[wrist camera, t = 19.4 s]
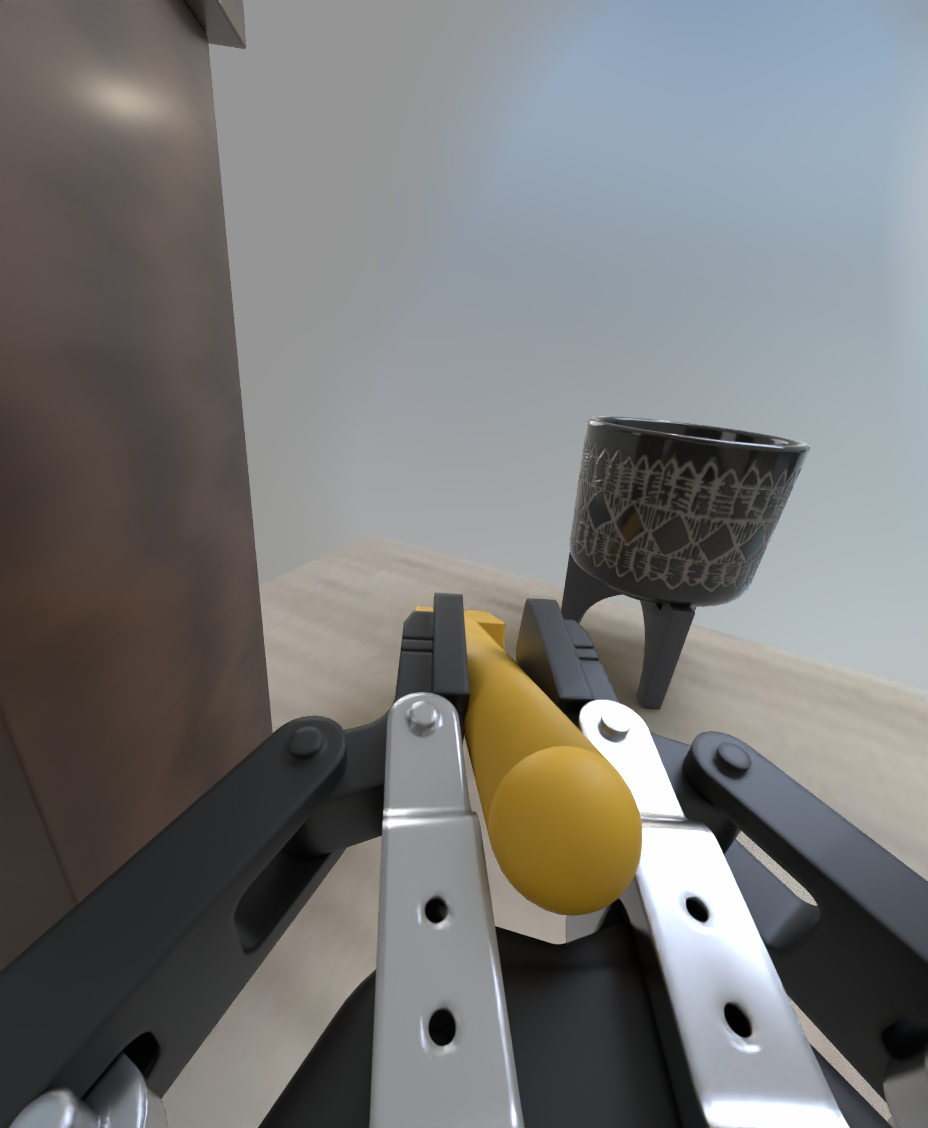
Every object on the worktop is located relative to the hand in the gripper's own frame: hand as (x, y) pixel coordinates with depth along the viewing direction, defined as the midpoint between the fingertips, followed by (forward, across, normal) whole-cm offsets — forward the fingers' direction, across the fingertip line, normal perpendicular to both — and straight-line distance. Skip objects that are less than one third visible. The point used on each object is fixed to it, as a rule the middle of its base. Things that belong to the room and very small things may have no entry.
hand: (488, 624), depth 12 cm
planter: (+17, -15, +16) cm, 28 cm away
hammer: (+2, 0, +4) cm, 5 cm away
